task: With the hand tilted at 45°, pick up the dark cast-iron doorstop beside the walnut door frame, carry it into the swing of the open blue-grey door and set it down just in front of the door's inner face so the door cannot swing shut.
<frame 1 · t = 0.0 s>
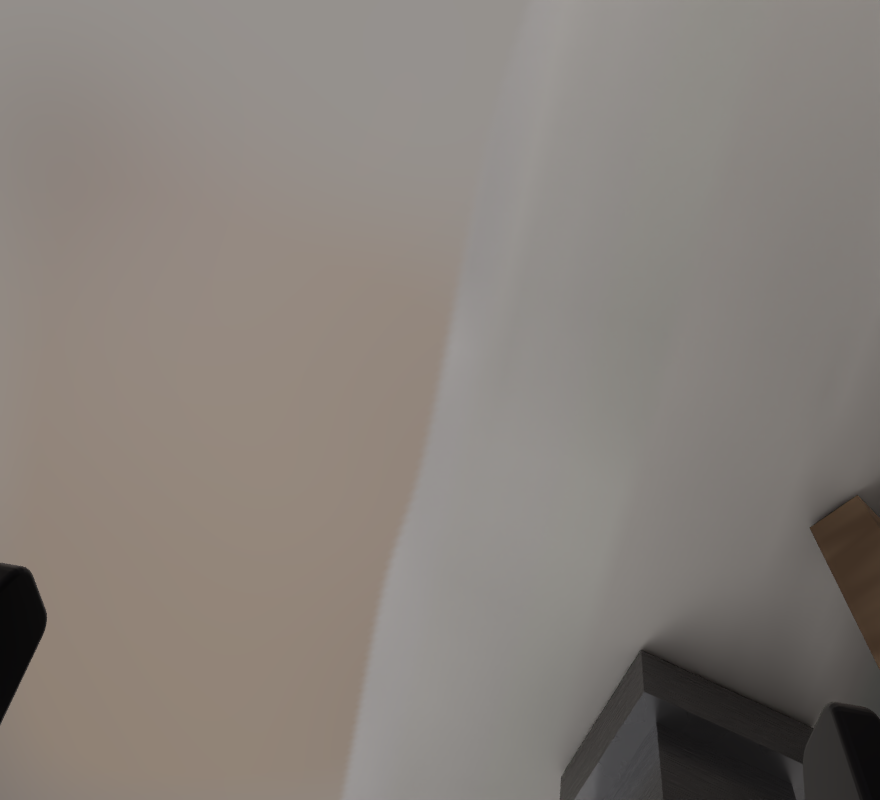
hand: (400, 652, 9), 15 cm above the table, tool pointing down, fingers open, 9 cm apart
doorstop: (682, 754, 27), on the table
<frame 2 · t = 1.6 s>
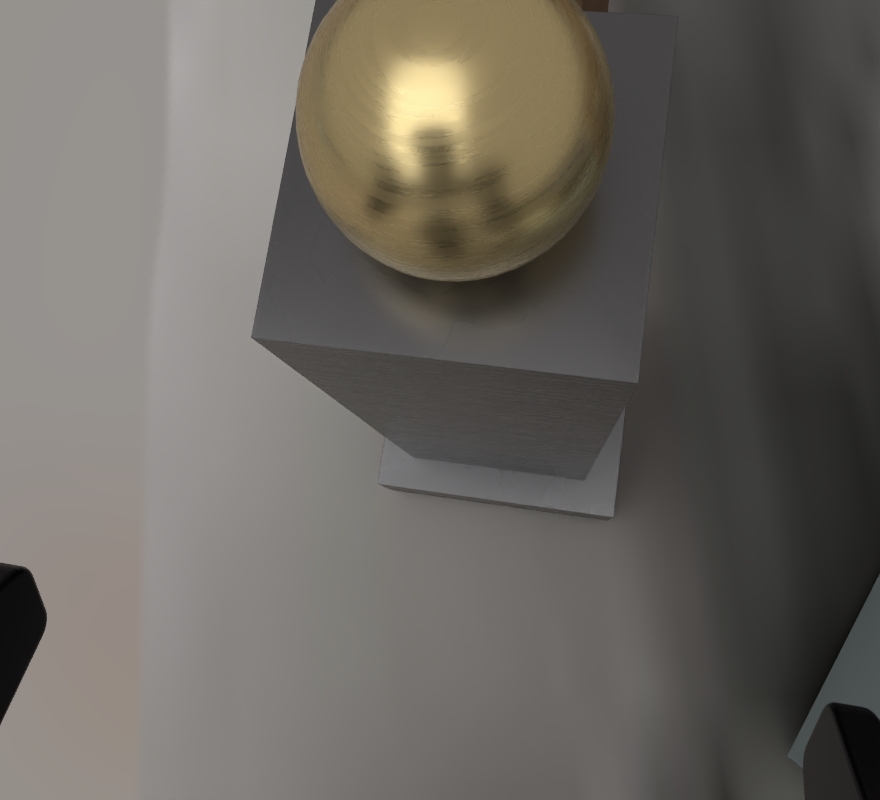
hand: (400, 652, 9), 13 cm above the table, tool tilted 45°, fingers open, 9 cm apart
door frame: (786, 189, 23), on the table
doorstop: (511, 398, 23), on the table
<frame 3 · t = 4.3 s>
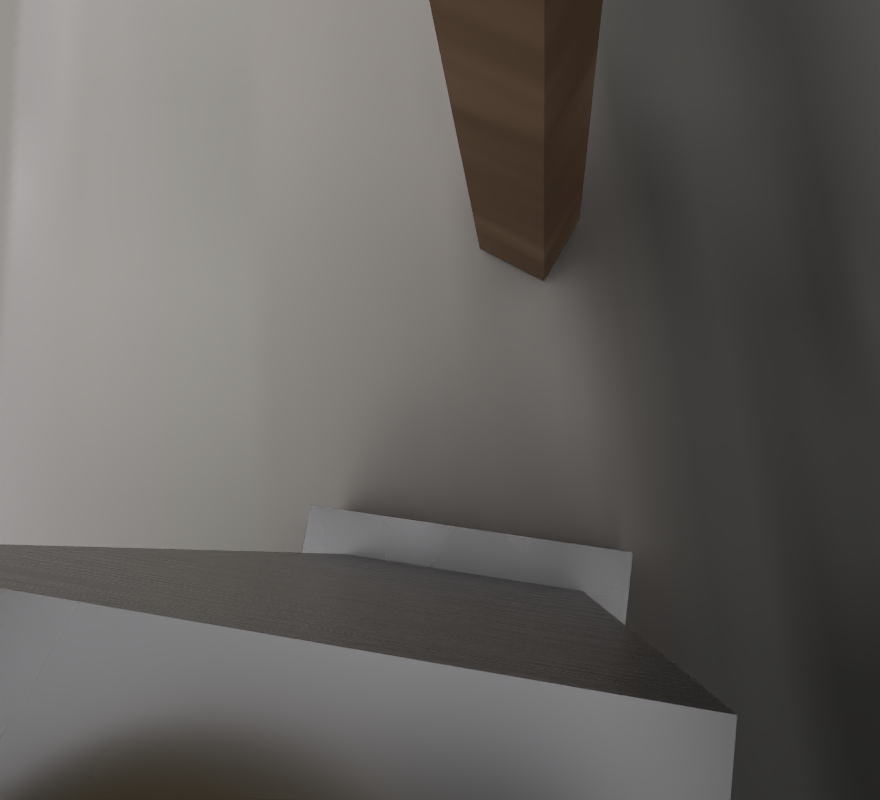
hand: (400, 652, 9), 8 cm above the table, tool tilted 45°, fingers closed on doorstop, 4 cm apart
door frame: (839, 386, 17), on the table
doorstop: (454, 681, 17), on the table, touching gripper
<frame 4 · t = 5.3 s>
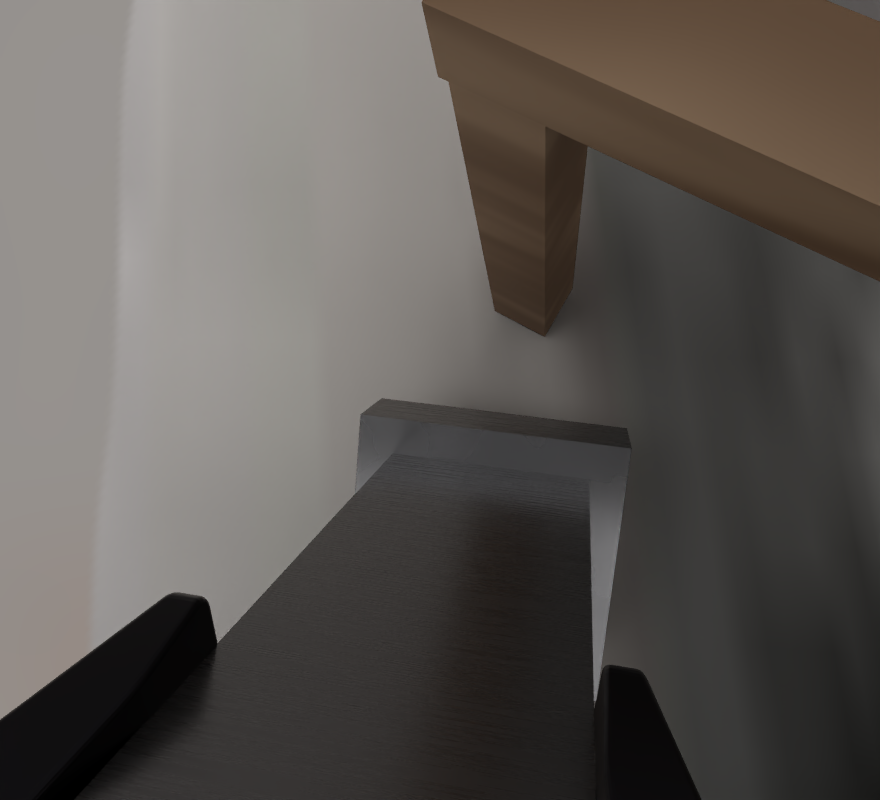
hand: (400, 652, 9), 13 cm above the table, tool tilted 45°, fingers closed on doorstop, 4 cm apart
door frame: (770, 421, 22), on the table
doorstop: (489, 529, 21), point 2 cm above the table, tilted 21°, touching gripper
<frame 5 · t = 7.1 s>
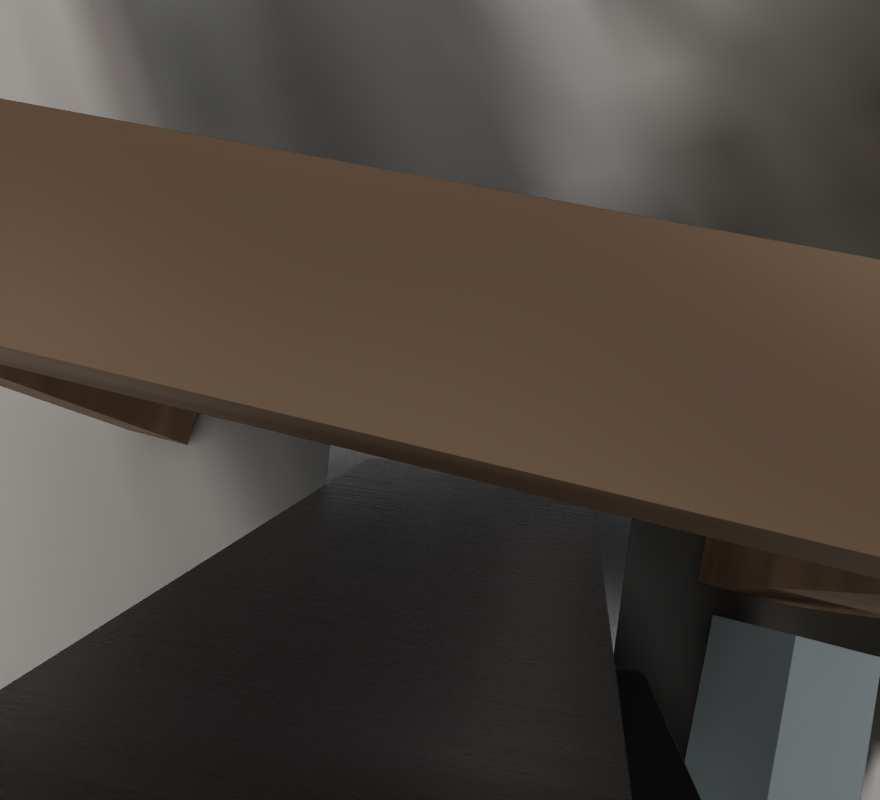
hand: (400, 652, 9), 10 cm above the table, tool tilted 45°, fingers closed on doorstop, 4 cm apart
door frame: (441, 473, 19), on the table
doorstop: (477, 554, 18), point 1 cm above the table, tilted 17°, touching gripper
when the fingers open (10 cm above the table, at t = 7.8 s): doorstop stays where it is, resting on door frame.
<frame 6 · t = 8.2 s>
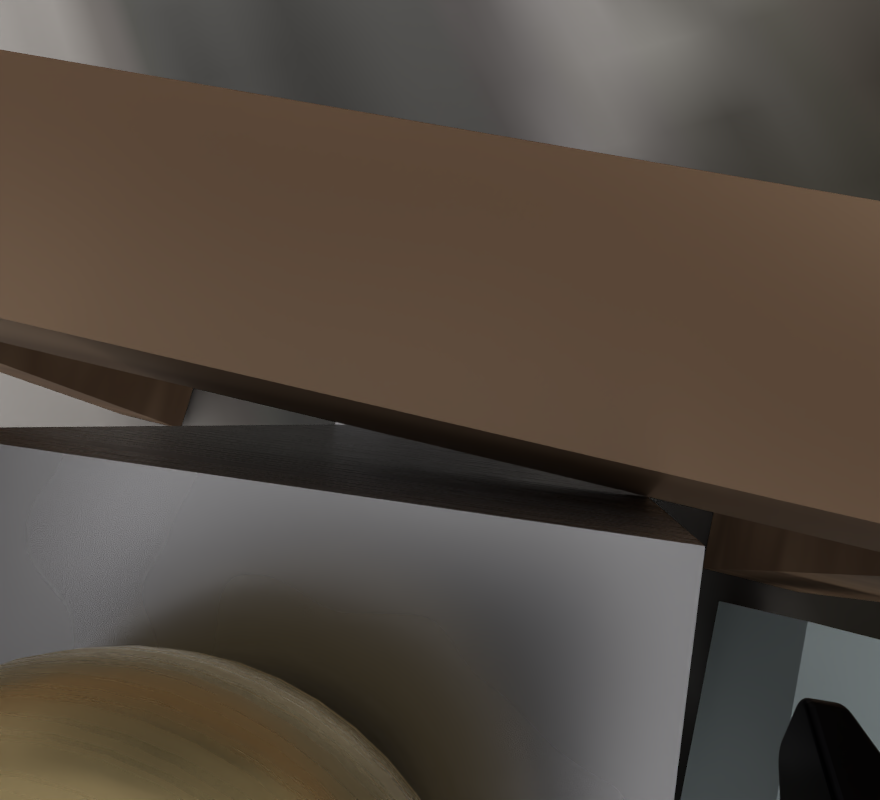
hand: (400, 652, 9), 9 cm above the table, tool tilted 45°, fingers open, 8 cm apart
door frame: (441, 457, 19), on the table
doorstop: (479, 536, 18), on the table, tilted 9°, touching door frame
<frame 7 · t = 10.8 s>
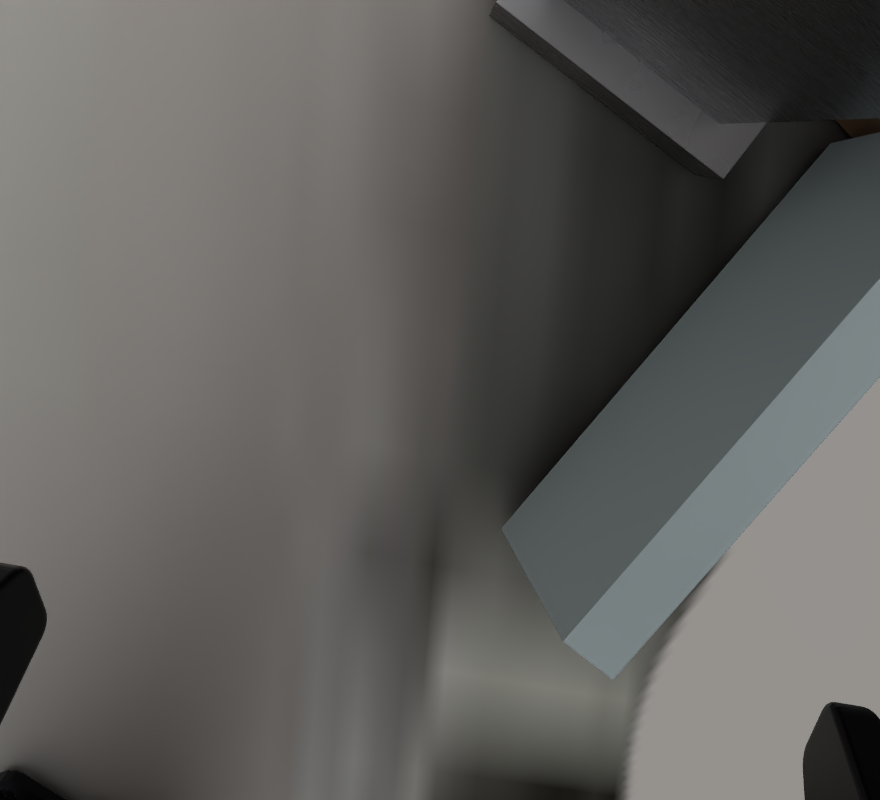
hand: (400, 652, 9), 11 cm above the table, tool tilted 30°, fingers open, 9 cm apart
door: (737, 373, 17), point 3 cm above the table, hinge at 90.0°
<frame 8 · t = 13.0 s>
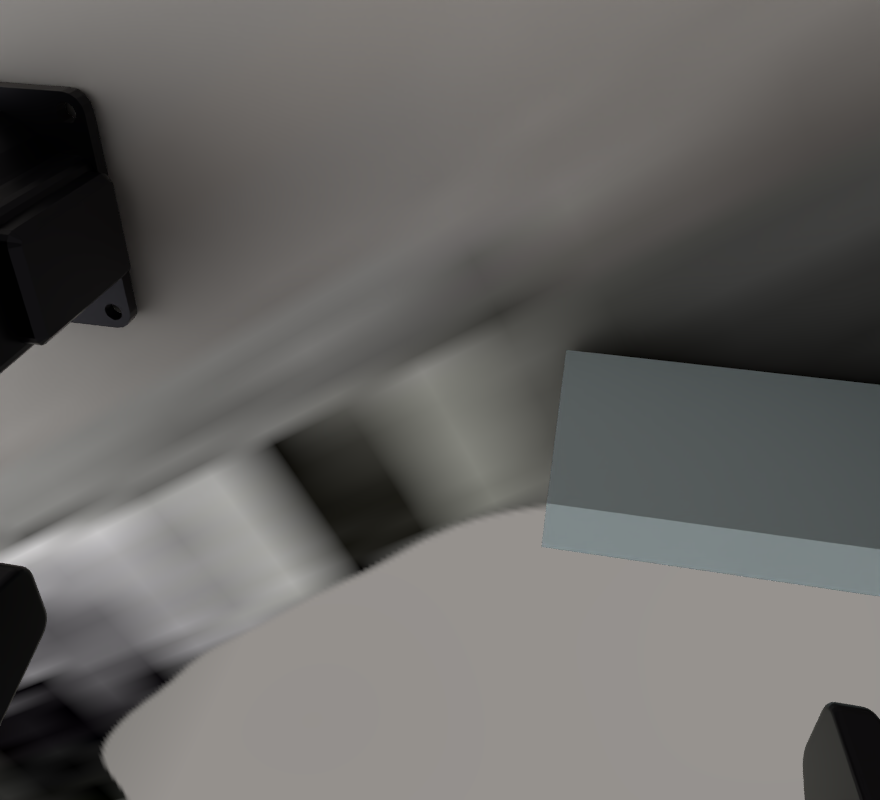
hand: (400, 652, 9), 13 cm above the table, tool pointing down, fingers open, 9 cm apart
door: (826, 472, 18), point 3 cm above the table, hinge at 90.0°
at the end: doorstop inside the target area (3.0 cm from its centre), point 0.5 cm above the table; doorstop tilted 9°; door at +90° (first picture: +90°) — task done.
